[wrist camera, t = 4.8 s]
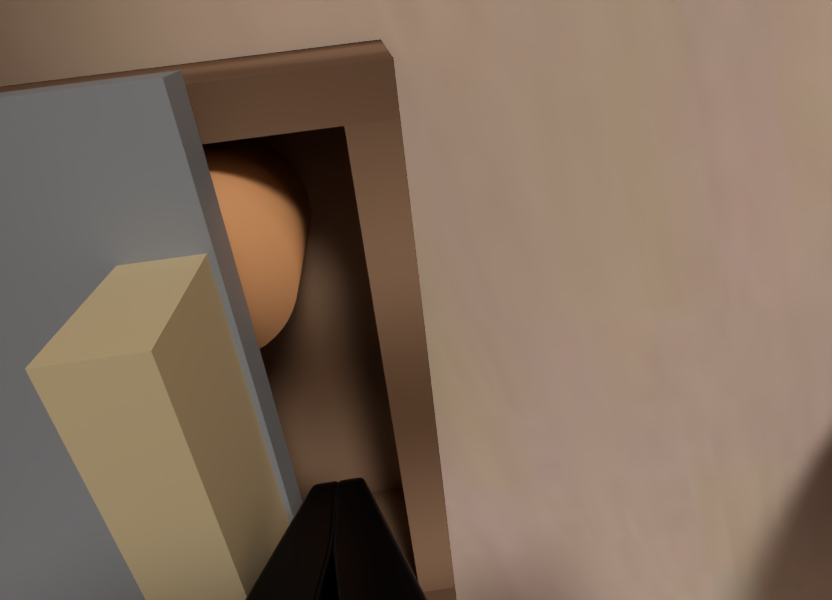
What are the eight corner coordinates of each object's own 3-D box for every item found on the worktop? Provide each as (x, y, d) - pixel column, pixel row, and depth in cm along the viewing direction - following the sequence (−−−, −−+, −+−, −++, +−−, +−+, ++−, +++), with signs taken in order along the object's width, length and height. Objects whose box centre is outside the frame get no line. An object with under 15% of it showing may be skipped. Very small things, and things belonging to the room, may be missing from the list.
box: (435, 482, 17) (457, 608, 13) (-47, 555, 16) (-156, 707, 13) (380, 39, 11) (393, 57, 8) (-357, 131, 11) (-702, 195, 7)
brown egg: (323, 270, 13) (315, 349, 10) (177, 291, 12) (126, 375, 10) (293, 122, 11) (273, 163, 8) (126, 143, 11) (48, 193, 8)
